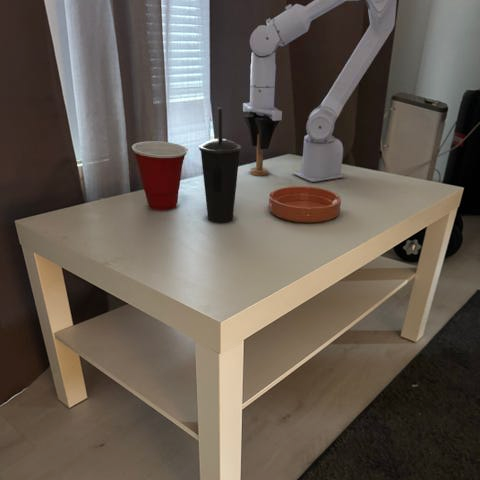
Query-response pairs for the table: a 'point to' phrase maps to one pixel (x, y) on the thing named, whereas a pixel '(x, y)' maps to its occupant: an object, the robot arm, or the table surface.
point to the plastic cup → (160, 172)
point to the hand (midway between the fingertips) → (260, 147)
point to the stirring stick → (259, 162)
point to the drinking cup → (220, 175)
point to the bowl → (304, 204)
